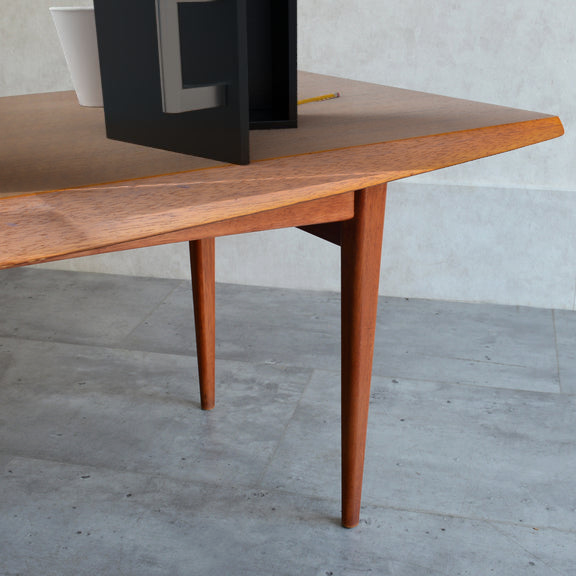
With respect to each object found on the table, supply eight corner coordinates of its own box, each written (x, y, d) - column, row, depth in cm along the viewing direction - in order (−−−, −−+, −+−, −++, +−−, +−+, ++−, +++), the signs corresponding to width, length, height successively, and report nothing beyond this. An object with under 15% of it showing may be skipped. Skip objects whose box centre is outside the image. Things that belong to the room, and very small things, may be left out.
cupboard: (297, 129, 80) (297, -74, 73) (110, 137, 77) (90, -76, 69) (279, 115, 89) (277, -67, 82) (111, 122, 86) (93, -68, 78)
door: (189, 177, 59) (173, -99, 52) (55, 146, 71) (26, -80, 64) (250, 163, 64) (243, -92, 56) (114, 136, 76) (94, -75, 69)
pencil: (339, 97, 106) (339, 92, 106) (288, 109, 96) (288, 104, 96) (334, 97, 107) (335, 92, 106) (283, 108, 96) (283, 103, 96)
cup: (68, 98, 106) (58, 6, 101) (152, 96, 107) (145, 5, 102) (52, 110, 95) (39, 7, 90) (145, 108, 96) (137, 6, 91)
